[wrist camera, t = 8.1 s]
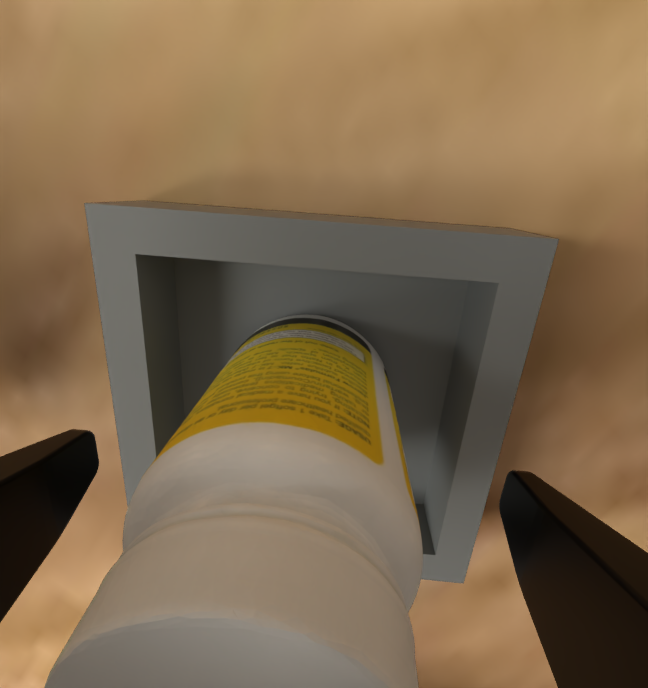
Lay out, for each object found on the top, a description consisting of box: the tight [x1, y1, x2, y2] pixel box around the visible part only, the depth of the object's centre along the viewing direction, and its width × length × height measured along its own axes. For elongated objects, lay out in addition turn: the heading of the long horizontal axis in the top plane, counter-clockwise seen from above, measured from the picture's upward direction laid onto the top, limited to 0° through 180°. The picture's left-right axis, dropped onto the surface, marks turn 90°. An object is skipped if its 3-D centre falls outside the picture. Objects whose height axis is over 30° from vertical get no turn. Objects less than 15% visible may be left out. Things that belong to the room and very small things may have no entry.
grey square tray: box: [84, 201, 559, 583], centre depth 11 cm, size 10×10×3 cm
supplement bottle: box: [45, 314, 423, 688], centre depth 8 cm, size 5×5×8 cm
